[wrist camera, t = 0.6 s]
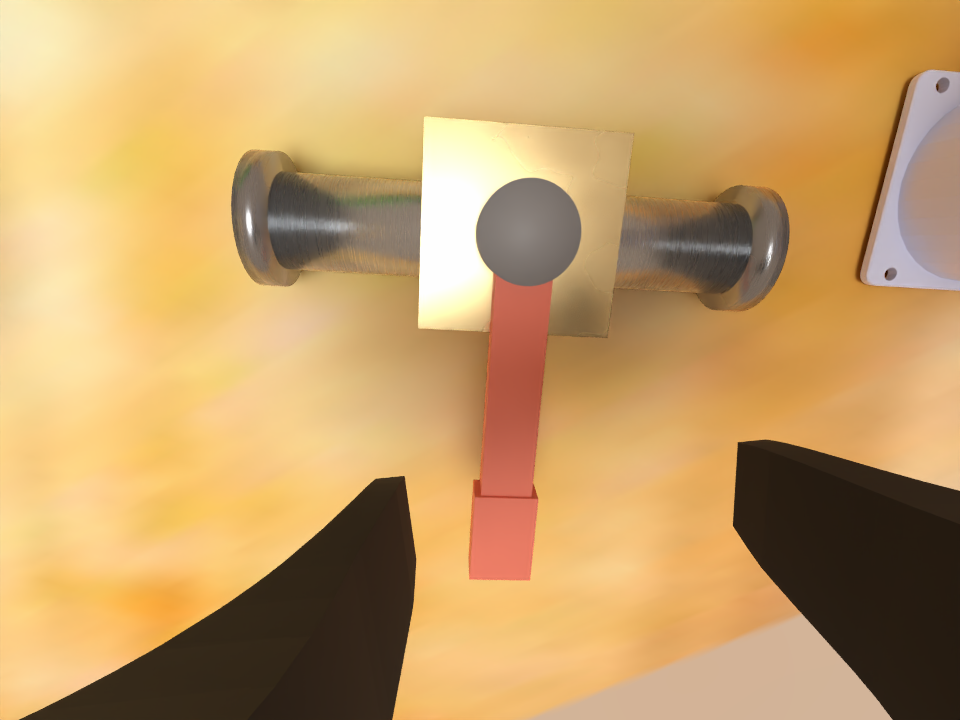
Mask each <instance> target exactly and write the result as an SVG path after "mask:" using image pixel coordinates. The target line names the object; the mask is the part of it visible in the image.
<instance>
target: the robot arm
mask: <svg viewBox="0 0 960 720" xmlns="http://www.w3.org/2000/svg"><path fill="white" fill-rule="evenodd" d="M937 83H938V85H939V89H938V91H937V90H936V84H937ZM886 270H888V275H887V277H886V278H885V277H884V276H885V272H886ZM860 278H861V281H862V282H863V283H864V284H867V285H875V286H891V287H908V288H924V289H941V290H957V291H960V72H953V71H942V70H927V71H925V72H922V73H920V74H918V75H916V76H915V77H914V78H913V79H912V80H911V82H910V85H909V87H908V91H907V95H906V99H905V103H904V107H903V111H902V114H901V118H900V122H899V126H898V130H897V134H896V138H895V141H894V145H893V149H892V153H891V157H890V161H889V165H888V168H887V172H886V176H885V180H884V184H883V188H882V191H881V195H880V199H879V203H878V207H877V211H876V215H875V218H874V222H873V226H872V230H871V234H870V238H869V242H868V245H867V249H866V253H865V257H864V261H863V265H862V269H861V273H860ZM733 527H734V528H735V530H736V531H737V533H738V534H739V536H740V537H741V539H742V540H743V542H744V543H745V545H746V546H747V548H748V549H749V551H750V552H751V554H752V555H753V556H754V558H755V559H756V561H757V562H758V563H759V565H760V566H761V568H762V569H763V570H764V571H765V572H766V573H767V575H768V576H769V577H770V578H771V579H772V580H773V582H774V583H775V584H776V585H777V586H778V587H779V588H780V590H781V591H782V592H783V593H784V594H785V595H786V596H787V597H788V599H789V600H790V601H791V602H792V603H793V604H794V605H795V606H796V608H797V609H798V610H799V611H800V612H801V613H802V614H803V615H804V616H805V618H806V619H807V620H808V621H809V622H810V623H811V624H812V625H813V626H814V627H815V629H816V630H817V631H818V632H819V633H820V634H821V635H822V636H823V638H824V639H825V640H826V641H827V642H828V643H829V644H830V645H831V646H832V647H833V649H834V650H835V651H836V652H837V653H838V654H839V655H840V656H841V658H842V659H843V660H844V661H845V662H846V663H847V664H848V665H849V667H850V668H851V669H852V670H853V671H854V672H855V673H856V675H857V676H858V677H859V678H860V679H861V681H862V682H863V683H864V684H865V685H866V686H867V688H868V689H869V690H870V691H871V692H872V693H873V695H874V696H875V697H876V698H877V700H878V701H879V702H880V704H881V705H882V706H883V707H884V709H885V710H886V711H887V713H888V714H889V715H890V717H891V718H892V719H893V720H960V491H958V490H954V489H950V488H946V487H943V486H939V485H935V484H931V483H927V482H923V481H920V480H916V479H912V478H909V477H905V476H901V475H898V474H894V473H891V472H887V471H884V470H880V469H877V468H873V467H870V466H866V465H863V464H860V463H856V462H853V461H849V460H846V459H842V458H839V457H835V456H832V455H828V454H825V453H821V452H818V451H814V450H811V449H807V448H803V447H799V446H795V445H791V444H787V443H782V442H778V441H771V440H757V441H747V442H738V450H737V467H736V483H735V500H734V516H733ZM415 571H416V554H415V547H414V540H413V533H412V526H411V519H410V512H409V505H408V498H407V491H406V484H405V477H404V476H400V477H390V478H380V479H375V480H374V481H373V482H372V483H370V484H369V485H368V486H367V487H366V488H365V489H364V490H363V491H362V492H361V493H360V494H359V495H358V496H357V497H356V498H355V499H354V500H353V501H352V502H351V503H350V504H349V505H348V506H346V507H345V508H344V509H343V510H342V511H341V512H340V513H339V514H338V515H337V516H336V517H335V518H334V519H333V520H332V521H331V522H330V523H328V524H327V525H326V526H325V527H324V528H323V529H322V530H321V531H320V532H319V533H317V534H316V535H315V536H314V537H313V538H312V539H310V540H309V541H308V542H307V543H306V544H305V545H303V546H302V547H301V548H300V549H299V550H297V551H296V552H295V553H294V554H293V555H292V556H290V557H289V558H288V559H287V560H286V561H285V562H283V563H282V564H281V565H280V566H278V567H277V568H276V569H275V570H273V571H272V572H271V573H269V574H268V575H267V576H265V577H264V578H263V579H261V580H260V581H259V582H257V583H256V584H254V585H253V586H252V587H250V588H249V589H247V590H246V591H245V592H243V593H242V594H240V595H239V596H238V597H236V598H235V599H233V600H232V601H230V602H229V603H227V604H226V605H225V606H223V607H222V608H220V609H218V610H217V611H215V612H214V613H212V614H210V615H209V616H207V617H206V618H204V619H202V620H201V621H199V622H198V623H196V624H194V625H193V626H191V627H189V628H188V629H186V630H185V631H183V632H181V633H180V634H178V635H177V636H175V637H173V638H172V639H170V640H169V641H167V642H165V643H164V644H162V645H161V646H159V647H157V648H155V649H154V650H152V651H150V652H148V653H147V654H145V655H143V656H141V657H139V658H138V659H136V660H134V661H132V662H130V663H129V664H127V665H125V666H123V667H121V668H120V669H118V670H116V671H114V672H112V673H111V674H109V675H107V676H105V677H103V678H101V679H99V680H97V681H95V682H93V683H92V684H90V685H88V686H86V687H84V688H82V689H80V690H78V691H76V692H74V693H73V694H71V695H69V696H67V697H65V698H63V699H61V700H59V701H57V702H55V703H53V704H51V705H49V706H47V707H45V708H43V709H41V710H39V711H37V712H35V713H32V714H30V715H28V716H26V717H24V718H22V719H20V720H392V718H393V712H394V707H395V701H396V696H397V691H398V685H399V680H400V675H401V669H402V664H403V659H404V653H405V648H406V643H407V637H408V632H409V626H410V621H411V615H412V609H413V602H414V588H415Z"/></svg>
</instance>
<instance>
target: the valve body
mask: <svg viewBox="0 0 960 720" xmlns="http://www.w3.org/2000/svg"><path fill="white" fill-rule="evenodd" d="M633 138H634V133H626V132H614V131H601V130H589V129H576V128H564V127H551V126H539V125H526V124H514V123H501V122H489V121H476V120H464V119H451V118H439V117H426V116H424V143H423V178H422V181H410V180H396V179H382V178H368V177H354V176H340V175H326V174H312V173H298V172H297V170H296V168H295V166H294V164H293V162H292V161H291V159H290V158H289V157H288V156H287V155H286V154H285V153H283V152H280V151H267V150H250V151H247V152H246V153H245V154H244V155H243V156H242V158H241V159H240V161H239V163H238V166H237V169H236V172H235V176H234V180H233V186H232V201H231V209H232V224H233V231H234V237H235V241H236V246H237V249H238V253H239V256H240V258H241V261H242V263H243V265H244V268H245V269H246V271H247V273H248V274H249V276H250V277H251V278H252V279H253V280H254V281H255V282H256V283H258V284H261V285H271V286H291V285H292V284H294V283H295V282H296V280H297V279H298V277H299V275H300V273H301V270H313V271H331V272H348V273H365V274H382V275H400V276H417V277H420V285H419V320H418V328H422V329H442V330H462V331H481V332H490V319H491V304H492V289H493V274H494V273H493V272H492V271H491V270H490V269H489V268H488V267H487V266H486V264H485V263H484V261H483V260H482V258H481V256H480V254H479V251H478V248H477V244H476V224H477V220H478V217H479V215H480V212H481V210H482V208H483V207H484V205H485V204H486V202H487V201H488V199H489V198H490V197H491V196H492V195H493V194H494V193H495V191H497V190H498V189H499V188H500V187H502V186H503V185H505V184H507V183H509V182H511V181H513V180H517V179H520V178H541V179H545V180H548V181H550V182H552V183H555V184H556V185H558V186H559V187H561V188H562V189H563V190H564V191H565V192H566V193H567V194H568V195H569V196H570V197H571V199H572V200H573V202H574V203H575V205H576V207H577V210H578V212H579V215H580V220H581V229H582V231H581V241H580V245H579V249H578V251H577V254H576V256H575V258H574V260H573V261H572V263H571V264H570V265H569V267H568V268H567V269H566V270H565V271H564V272H563V273H562V274H561V275H559V276H558V277H557V278H555V279H553V284H552V294H551V304H550V314H549V324H548V335H560V336H580V337H599V338H607V336H608V329H609V321H610V313H611V306H612V298H613V291H614V288H624V289H641V290H658V291H676V292H693V293H696V294H697V296H698V298H699V299H700V301H701V302H702V303H703V304H704V305H705V306H706V307H708V308H709V309H712V310H720V311H745V310H748V309H750V308H752V307H754V306H755V305H757V304H758V303H759V302H760V301H761V300H763V299H764V298H765V296H766V295H767V294H768V293H769V292H770V290H771V289H772V287H773V286H774V284H775V282H776V281H777V279H778V277H779V274H780V272H781V270H782V267H783V265H784V262H785V258H786V254H787V250H788V244H789V218H788V213H787V209H786V207H785V204H784V202H783V200H782V199H781V197H780V196H779V195H778V194H777V193H776V192H775V191H773V190H772V189H769V188H766V187H755V186H742V185H740V186H734V187H731V188H729V189H727V190H725V191H724V192H723V193H721V194H720V195H719V196H718V197H717V198H716V199H715V201H714V202H706V201H692V200H678V199H664V198H650V197H636V196H626V191H627V184H628V176H629V169H630V161H631V153H632V146H633Z"/></svg>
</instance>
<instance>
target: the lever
mask: <svg viewBox="0 0 960 720" xmlns="http://www.w3.org/2000/svg"><path fill="white" fill-rule="evenodd" d="M581 231H582V229H581V220H580V215H579V212H578V210H577V207H576V205H575V203H574V202H573V200H572V199H571V197H570V196H569V195H568V194H567V193H566V192H565V191H564V190H563V189H562V188H561V187H559V186H558V185H556V184H555V183H552V182H550V181H548V180H545V179H541V178H520V179H517V180H513V181H511V182H509V183H507V184H505V185H503V186H502V187H500V188H499V189H498V190H497V191H495V193H494V194H493V195H492V196H491V197H490V198H489V199H488V201H487V202H486V204H485V205H484V207H483V208H482V210H481V212H480V215H479V217H478V220H477V224H476V244H477V248H478V251H479V254H480V256H481V258H482V260H483V261H484V263H485V264H486V266H487V267H488V268H489V269H490V270H491V271H492V272H493V273H494V274H493V289H492V304H491V319H490V334H489V349H488V364H487V379H486V394H485V409H484V424H483V439H482V454H481V469H480V480H473V496H472V512H471V528H470V544H469V579H477V580H530V575H531V565H532V556H533V546H534V536H535V526H536V517H537V507H538V497H537V494H536V490H535V487H534V484H533V477H534V467H535V456H536V446H537V436H538V426H539V416H540V406H541V395H542V385H543V375H544V365H545V355H546V345H547V335H548V324H549V314H550V304H551V294H552V284H553V279H555V278H557V277H558V276H559V275H561V274H562V273H563V272H564V271H565V270H566V269H567V268H568V267H569V265H570V264H571V263H572V261H573V260H574V258H575V256H576V254H577V251H578V249H579V245H580V241H581Z"/></svg>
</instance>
